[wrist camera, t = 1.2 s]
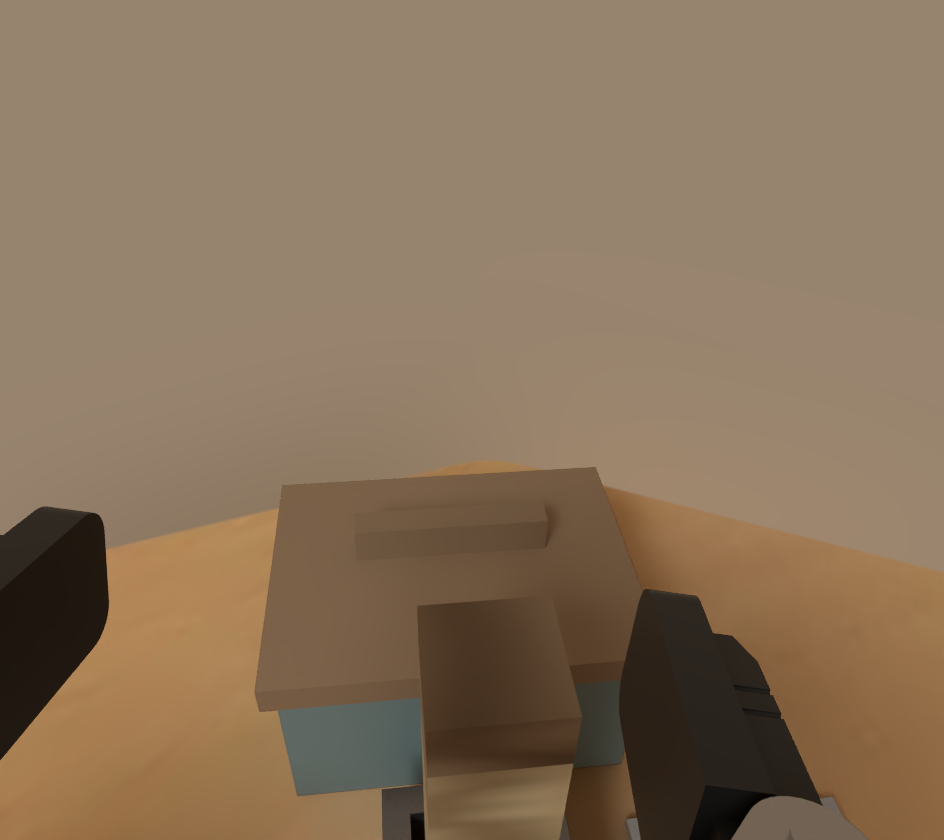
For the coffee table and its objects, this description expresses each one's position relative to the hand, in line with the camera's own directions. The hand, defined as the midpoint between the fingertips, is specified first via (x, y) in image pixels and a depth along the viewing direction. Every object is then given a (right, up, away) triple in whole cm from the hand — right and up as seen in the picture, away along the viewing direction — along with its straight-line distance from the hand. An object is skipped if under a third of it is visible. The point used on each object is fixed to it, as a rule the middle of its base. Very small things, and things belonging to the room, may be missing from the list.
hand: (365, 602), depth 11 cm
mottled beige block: (+2, -16, +17) cm, 23 cm away
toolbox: (+1, -10, +25) cm, 27 cm away
